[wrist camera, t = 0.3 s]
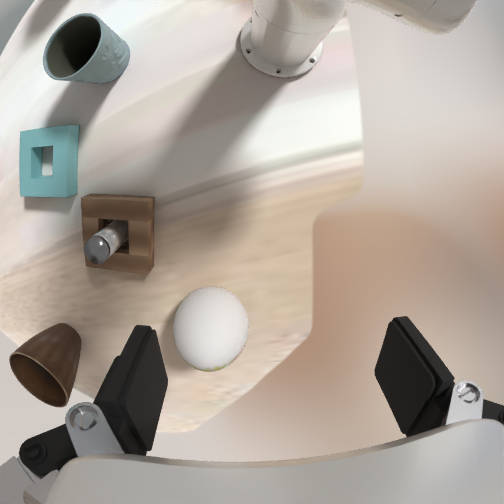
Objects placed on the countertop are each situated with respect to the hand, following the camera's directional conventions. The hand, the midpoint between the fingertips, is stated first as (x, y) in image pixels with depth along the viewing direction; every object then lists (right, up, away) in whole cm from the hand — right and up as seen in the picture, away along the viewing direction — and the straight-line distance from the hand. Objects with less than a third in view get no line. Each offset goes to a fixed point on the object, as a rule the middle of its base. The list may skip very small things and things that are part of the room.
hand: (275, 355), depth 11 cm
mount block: (-23, +8, +35) cm, 43 cm away
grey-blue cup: (-25, +35, +24) cm, 49 cm away
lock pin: (-23, +8, +35) cm, 43 cm away
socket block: (-37, +20, +30) cm, 51 cm away
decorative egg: (-8, -6, +41) cm, 42 cm away
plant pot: (-43, -15, +44) cm, 63 cm away
